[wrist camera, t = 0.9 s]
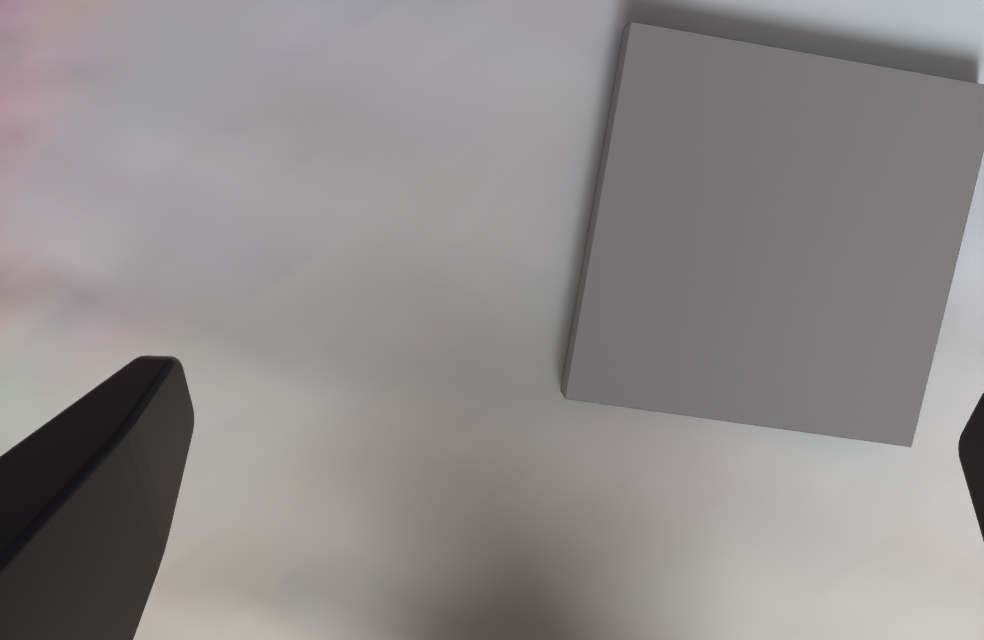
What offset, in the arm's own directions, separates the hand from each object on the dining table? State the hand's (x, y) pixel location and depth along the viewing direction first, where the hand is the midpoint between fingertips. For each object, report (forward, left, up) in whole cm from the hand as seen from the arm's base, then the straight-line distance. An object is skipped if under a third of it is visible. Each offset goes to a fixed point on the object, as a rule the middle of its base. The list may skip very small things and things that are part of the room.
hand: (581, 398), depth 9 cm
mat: (+2, -8, -16) cm, 18 cm away
